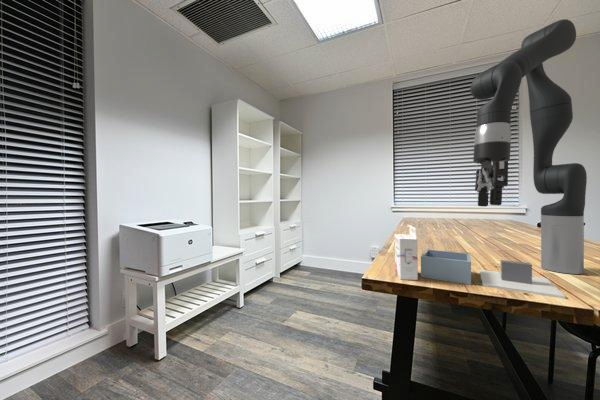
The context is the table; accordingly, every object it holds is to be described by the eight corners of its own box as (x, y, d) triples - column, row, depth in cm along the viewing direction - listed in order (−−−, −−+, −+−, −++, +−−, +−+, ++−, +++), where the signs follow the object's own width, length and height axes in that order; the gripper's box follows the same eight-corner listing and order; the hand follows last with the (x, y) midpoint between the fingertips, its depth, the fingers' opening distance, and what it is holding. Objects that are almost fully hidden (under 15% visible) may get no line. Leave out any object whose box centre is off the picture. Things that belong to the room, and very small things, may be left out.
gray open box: (426, 267, 81) (426, 249, 81) (470, 273, 75) (470, 253, 75) (420, 276, 71) (420, 256, 71) (471, 284, 65) (470, 262, 65)
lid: (479, 273, 76) (479, 253, 76) (546, 282, 68) (546, 260, 68) (482, 288, 64) (482, 264, 64) (565, 301, 55) (565, 274, 55)
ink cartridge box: (394, 271, 77) (393, 224, 77) (410, 271, 76) (410, 224, 76) (399, 279, 69) (399, 227, 69) (418, 280, 68) (418, 227, 68)
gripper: (523, 135, 56) (520, 205, 55) (497, 150, 69) (494, 207, 69) (484, 136, 59) (481, 203, 58) (466, 150, 72) (463, 205, 71)
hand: (488, 205), depth 63 cm, fingers open, 8 cm apart
